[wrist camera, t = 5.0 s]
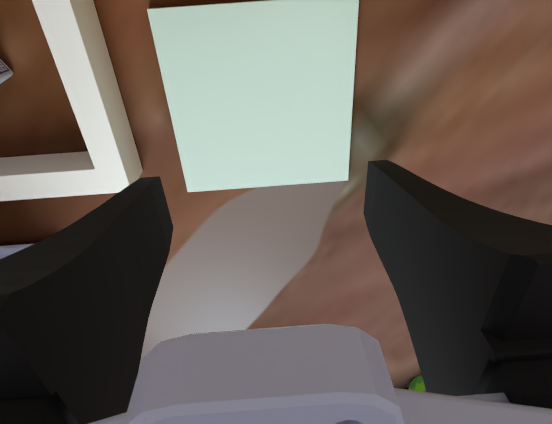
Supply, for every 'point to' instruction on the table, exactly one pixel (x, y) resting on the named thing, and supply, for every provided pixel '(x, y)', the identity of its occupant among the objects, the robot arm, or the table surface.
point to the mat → (259, 90)
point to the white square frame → (78, 114)
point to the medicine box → (4, 72)
